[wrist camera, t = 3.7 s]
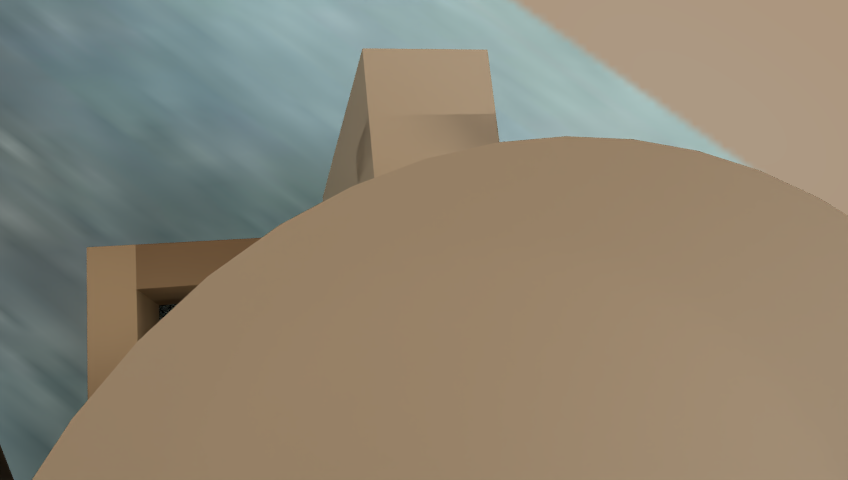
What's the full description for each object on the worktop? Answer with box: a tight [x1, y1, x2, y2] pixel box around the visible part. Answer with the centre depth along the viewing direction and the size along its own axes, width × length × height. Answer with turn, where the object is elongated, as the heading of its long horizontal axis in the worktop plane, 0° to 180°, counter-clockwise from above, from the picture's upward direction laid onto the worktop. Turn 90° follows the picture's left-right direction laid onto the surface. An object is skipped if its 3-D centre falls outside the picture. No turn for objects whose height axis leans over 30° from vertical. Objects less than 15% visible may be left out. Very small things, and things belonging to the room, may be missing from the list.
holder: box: [87, 238, 261, 399], centre depth 13 cm, size 9×9×2 cm
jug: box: [32, 49, 848, 480], centre depth 9 cm, size 8×6×12 cm
